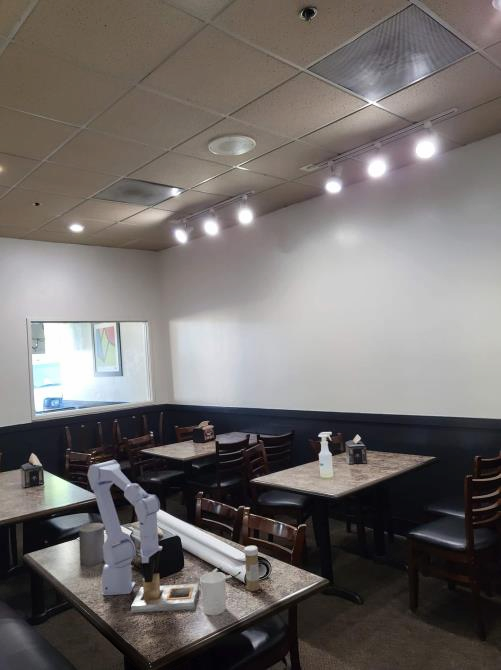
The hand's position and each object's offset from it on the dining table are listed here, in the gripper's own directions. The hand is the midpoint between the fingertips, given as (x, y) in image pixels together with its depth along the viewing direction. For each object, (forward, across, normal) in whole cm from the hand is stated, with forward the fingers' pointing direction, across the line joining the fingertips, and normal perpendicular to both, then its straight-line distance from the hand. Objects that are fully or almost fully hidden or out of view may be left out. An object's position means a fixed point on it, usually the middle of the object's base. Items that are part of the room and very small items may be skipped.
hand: (151, 576), depth 160 cm
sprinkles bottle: (+8, +5, -33) cm, 34 cm away
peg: (+8, 0, 0) cm, 8 cm away
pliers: (+9, +15, -20) cm, 26 cm away
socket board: (+8, 0, -4) cm, 9 cm away
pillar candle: (+8, +37, +32) cm, 50 cm away
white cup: (+8, -8, -21) cm, 24 cm away
